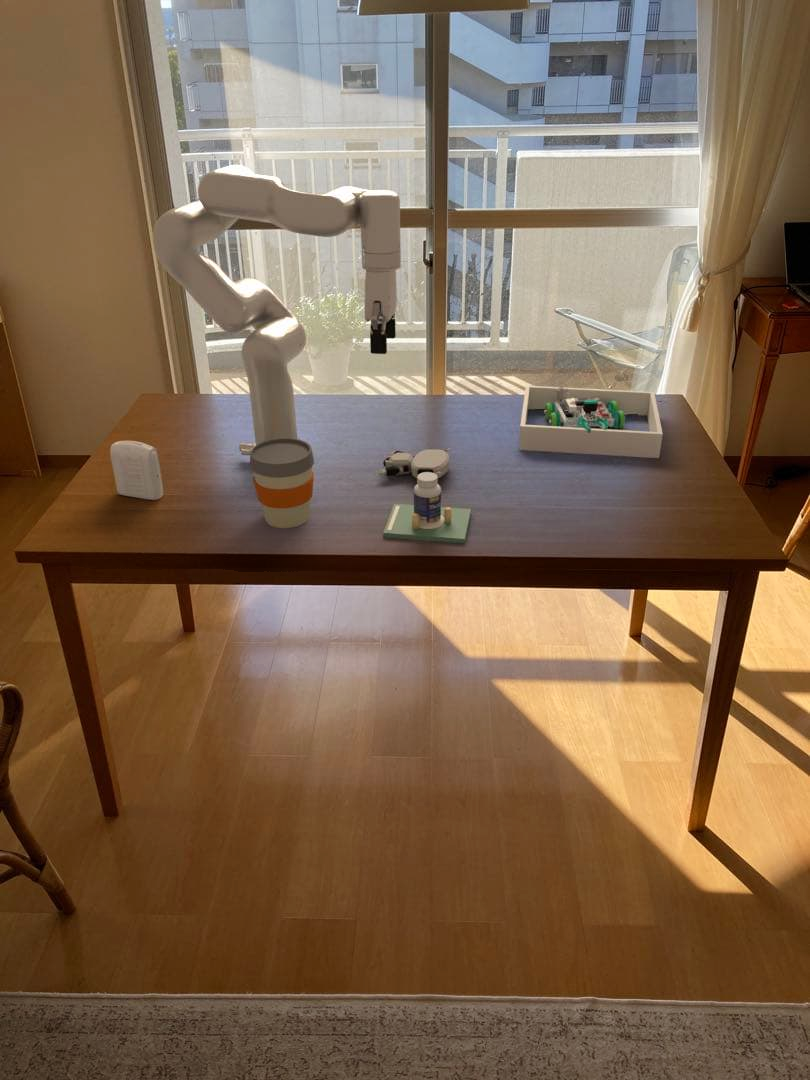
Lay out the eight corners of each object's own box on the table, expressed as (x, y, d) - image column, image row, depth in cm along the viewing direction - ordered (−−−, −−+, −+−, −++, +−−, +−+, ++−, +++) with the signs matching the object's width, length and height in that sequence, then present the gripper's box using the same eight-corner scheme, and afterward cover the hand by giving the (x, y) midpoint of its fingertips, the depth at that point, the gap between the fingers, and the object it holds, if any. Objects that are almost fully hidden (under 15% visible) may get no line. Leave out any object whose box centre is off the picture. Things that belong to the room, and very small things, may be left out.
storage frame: (518, 449, 205) (520, 426, 202) (524, 407, 227) (525, 385, 224) (659, 458, 200) (662, 434, 197) (650, 414, 222) (654, 391, 219)
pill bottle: (432, 529, 172) (432, 485, 167) (408, 522, 174) (408, 478, 169) (445, 517, 176) (446, 474, 171) (422, 510, 178) (422, 468, 173)
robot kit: (560, 454, 202) (563, 416, 197) (540, 411, 224) (542, 377, 219) (639, 451, 203) (644, 413, 198) (612, 409, 224) (616, 375, 219)
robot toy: (377, 486, 192) (444, 488, 189) (375, 468, 190) (443, 469, 186) (391, 462, 202) (454, 464, 199) (389, 444, 200) (453, 445, 196)
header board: (383, 537, 171) (382, 519, 169) (394, 507, 182) (393, 490, 180) (464, 543, 169) (465, 525, 167) (470, 513, 179) (471, 496, 177)
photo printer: (167, 493, 189) (158, 440, 182) (157, 502, 185) (147, 449, 179) (126, 487, 191) (115, 435, 185) (114, 495, 188) (104, 443, 181)
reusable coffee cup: (304, 536, 172) (299, 467, 164) (246, 528, 175) (238, 460, 167) (326, 506, 183) (322, 440, 175) (271, 499, 185) (264, 434, 178)
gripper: (371, 248, 177) (373, 331, 185) (352, 270, 162) (356, 358, 171) (407, 249, 175) (408, 333, 184) (392, 271, 161) (394, 360, 170)
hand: (383, 345), depth 178 cm, fingers open, 9 cm apart
